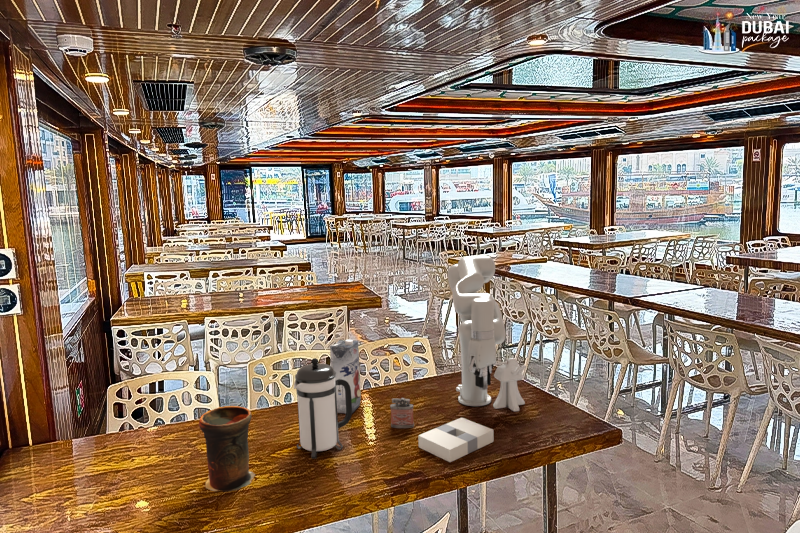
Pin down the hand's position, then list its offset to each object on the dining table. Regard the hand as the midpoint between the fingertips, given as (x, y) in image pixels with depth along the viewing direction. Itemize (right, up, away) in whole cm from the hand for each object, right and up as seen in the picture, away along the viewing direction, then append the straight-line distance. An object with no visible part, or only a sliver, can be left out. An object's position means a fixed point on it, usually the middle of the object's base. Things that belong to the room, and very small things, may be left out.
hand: (483, 384), depth 198 cm
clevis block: (-11, -16, -15) cm, 24 cm away
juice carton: (-49, -13, +17) cm, 53 cm away
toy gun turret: (+12, -11, +16) cm, 23 cm away
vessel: (-78, -21, -32) cm, 87 cm away
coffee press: (-54, -18, -13) cm, 58 cm away
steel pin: (0, -1, 0) cm, 1 cm away
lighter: (-28, -15, +1) cm, 32 cm away
